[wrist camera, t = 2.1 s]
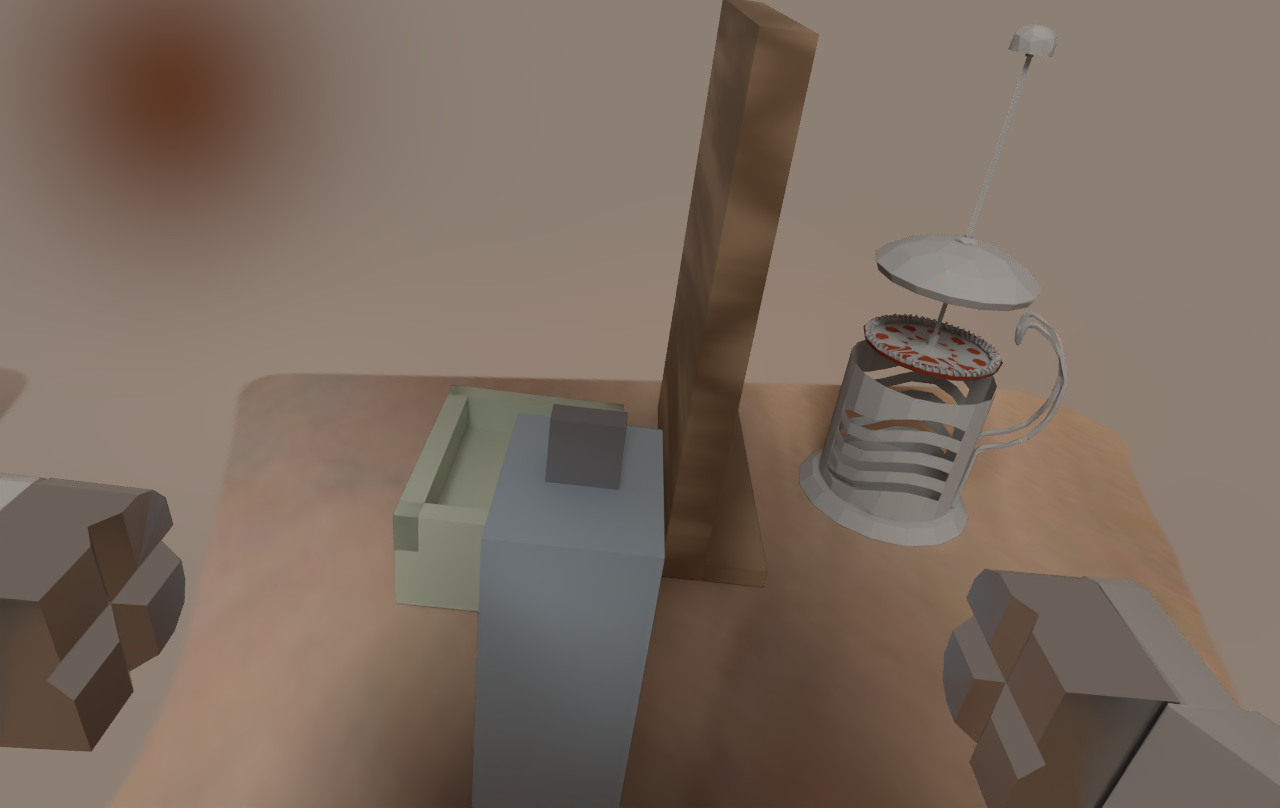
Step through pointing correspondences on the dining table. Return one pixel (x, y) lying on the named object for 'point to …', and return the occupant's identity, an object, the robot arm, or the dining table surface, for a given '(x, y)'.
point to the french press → (927, 381)
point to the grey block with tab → (566, 609)
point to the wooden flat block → (727, 291)
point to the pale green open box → (458, 494)
